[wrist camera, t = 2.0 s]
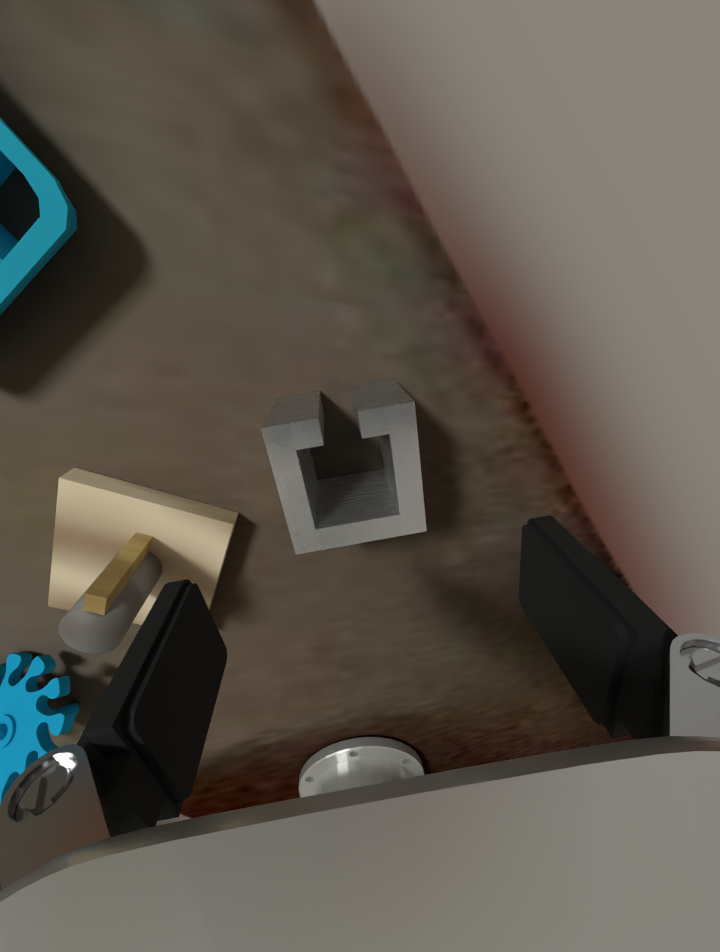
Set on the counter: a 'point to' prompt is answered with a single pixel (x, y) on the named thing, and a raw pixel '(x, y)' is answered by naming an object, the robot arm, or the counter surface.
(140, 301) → the counter surface
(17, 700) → the gear
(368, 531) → the grey hollow block
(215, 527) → the keyed post stand
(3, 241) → the ice cube tray
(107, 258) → the counter surface
